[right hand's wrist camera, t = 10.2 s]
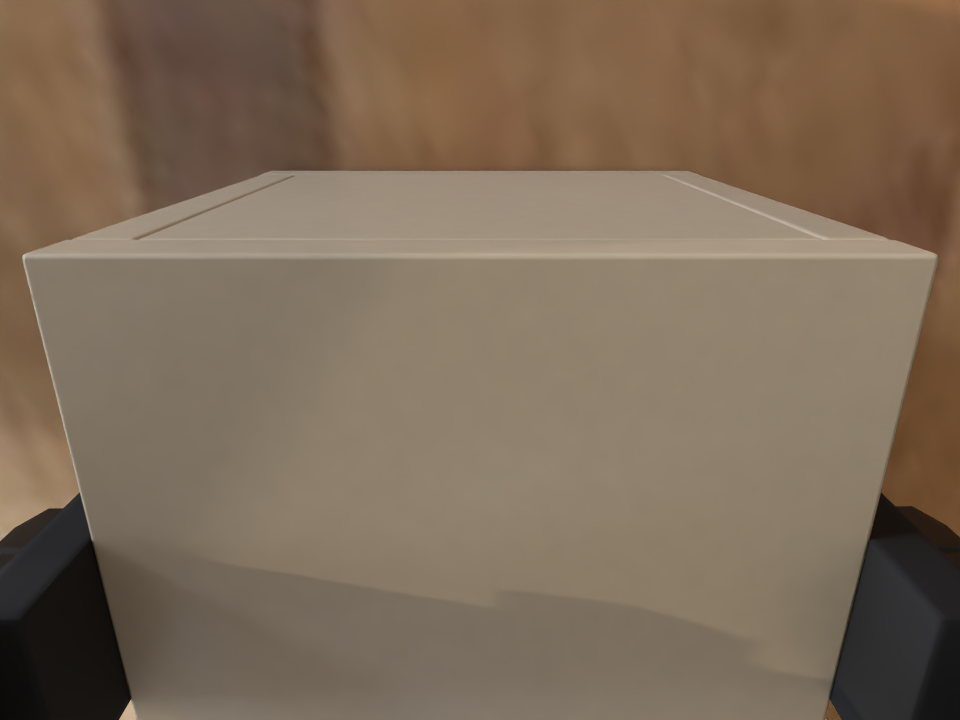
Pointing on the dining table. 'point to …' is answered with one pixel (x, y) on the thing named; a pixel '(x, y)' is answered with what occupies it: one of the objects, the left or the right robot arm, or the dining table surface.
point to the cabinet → (480, 442)
